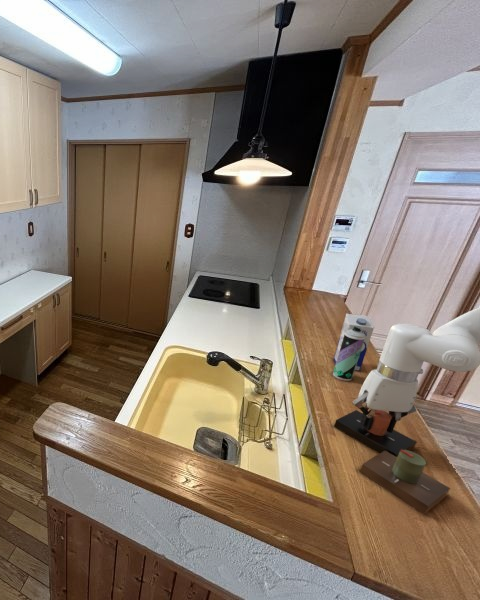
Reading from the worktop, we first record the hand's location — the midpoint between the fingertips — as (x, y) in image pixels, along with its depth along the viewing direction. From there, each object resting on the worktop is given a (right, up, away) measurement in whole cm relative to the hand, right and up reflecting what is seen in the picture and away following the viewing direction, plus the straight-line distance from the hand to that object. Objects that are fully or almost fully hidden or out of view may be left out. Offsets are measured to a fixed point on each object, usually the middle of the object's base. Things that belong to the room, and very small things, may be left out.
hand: (375, 427), depth 89 cm
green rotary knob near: (-5, -6, -13) cm, 16 cm away
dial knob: (0, -1, 0) cm, 1 cm away
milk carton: (+22, +10, +36) cm, 43 cm away
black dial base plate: (0, -3, +1) cm, 3 cm away
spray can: (+14, +7, +29) cm, 33 cm away
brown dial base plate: (-5, -8, -12) cm, 16 cm away
